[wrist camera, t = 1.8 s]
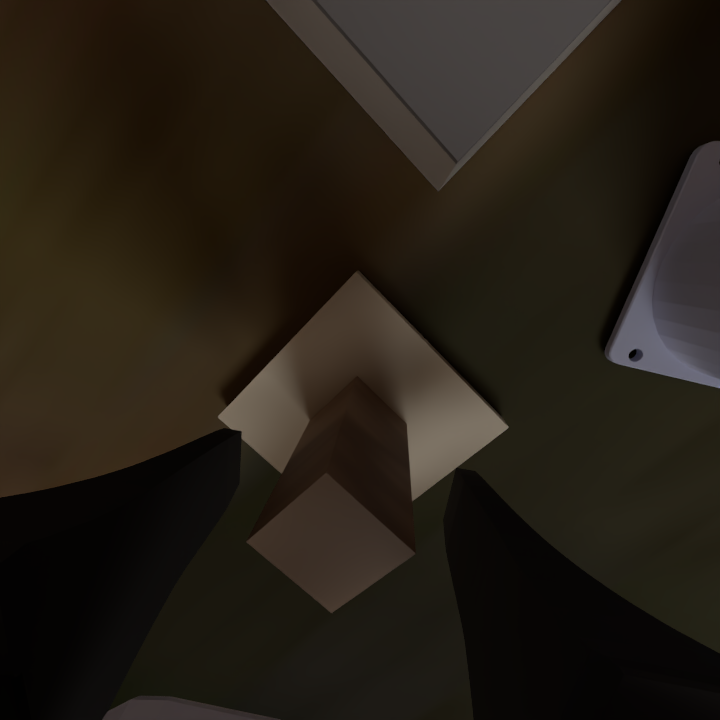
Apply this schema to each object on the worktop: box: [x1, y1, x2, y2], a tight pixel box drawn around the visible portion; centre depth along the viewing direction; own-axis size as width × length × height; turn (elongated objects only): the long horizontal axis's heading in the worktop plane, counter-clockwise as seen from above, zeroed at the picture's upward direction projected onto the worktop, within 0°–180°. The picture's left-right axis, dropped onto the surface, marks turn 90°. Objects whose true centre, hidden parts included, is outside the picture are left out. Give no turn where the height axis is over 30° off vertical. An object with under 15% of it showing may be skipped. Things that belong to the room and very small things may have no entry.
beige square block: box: [218, 271, 509, 501], centre depth 16 cm, size 9×9×1 cm
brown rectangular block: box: [246, 376, 416, 613], centre depth 12 cm, size 3×3×7 cm
